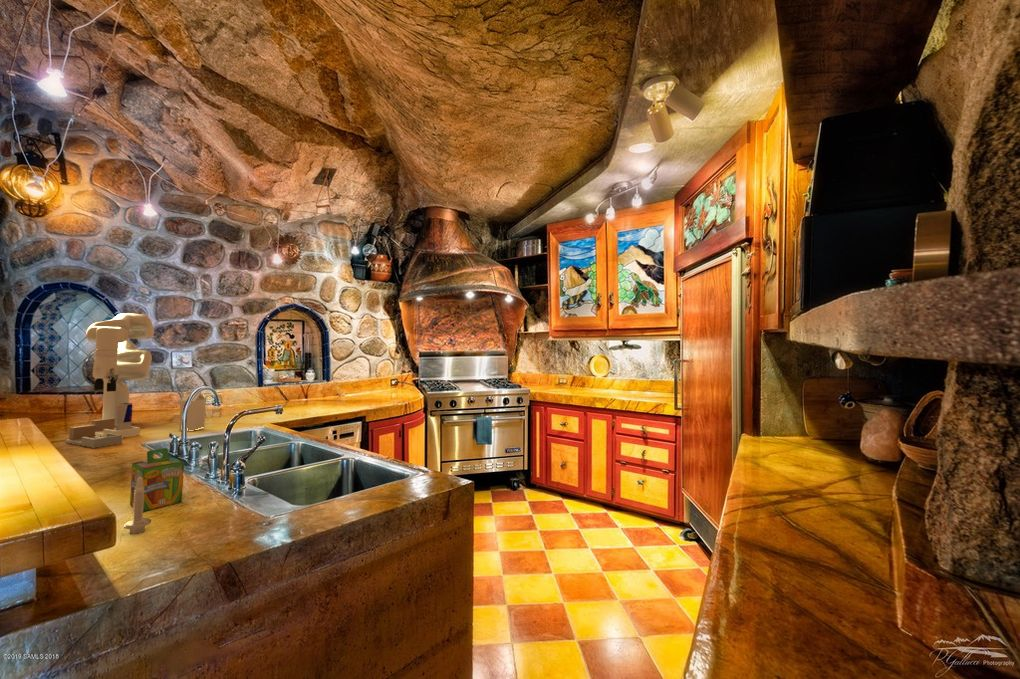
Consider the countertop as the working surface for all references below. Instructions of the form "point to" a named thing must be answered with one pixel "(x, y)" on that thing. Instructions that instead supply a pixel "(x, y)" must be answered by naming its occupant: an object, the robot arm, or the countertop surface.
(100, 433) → the pale strip
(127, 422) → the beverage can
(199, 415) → the milk carton
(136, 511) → the screw
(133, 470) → the chalk box
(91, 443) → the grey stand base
